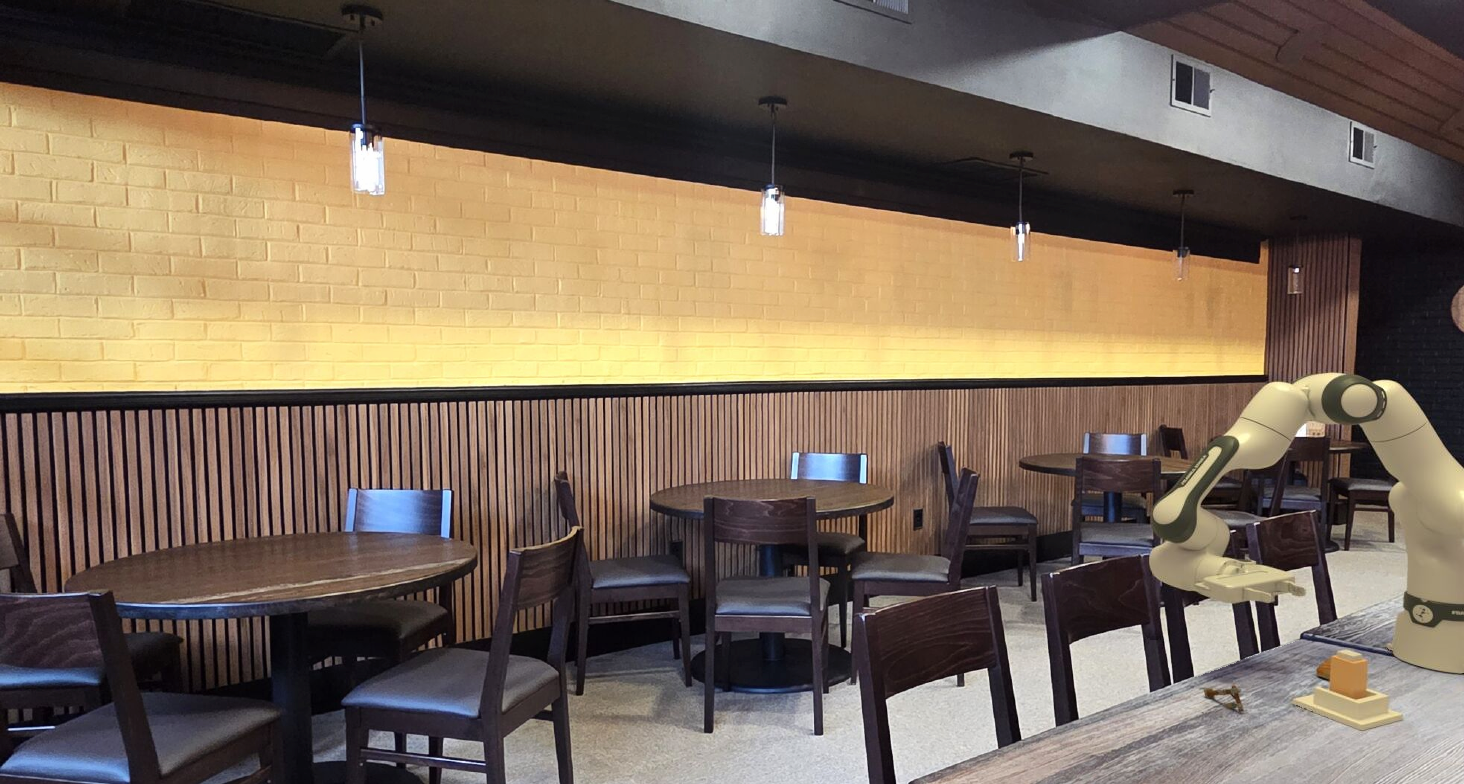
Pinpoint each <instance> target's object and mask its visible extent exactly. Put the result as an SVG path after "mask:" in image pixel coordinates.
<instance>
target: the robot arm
mask: <svg viewBox="0 0 1464 784" xmlns="http://www.w3.org/2000/svg"><path fill="white" fill-rule="evenodd" d="M1239 415H1240V416H1239V417H1238V418H1237V420H1236V422H1235V423H1234V424H1233V425H1232V427H1231V428H1230V429H1229V430H1228V431H1227V432H1225V434H1223V435H1222V436H1221V435H1220V436H1218V437H1216V438H1215V439H1213V440H1212V441H1211V442H1210V443H1208V444H1207V446H1206V447H1205V448H1204V449H1203V450H1202V452H1201V453H1200V454H1199V455H1198V456H1197V457H1196V459H1194V461H1193V463H1191V464H1190V466H1189V467H1188V469H1187V470H1186V471H1185V472H1184V473H1183V475H1182V476H1181V477H1180V478H1179V479H1178V481H1177V482H1176V483H1175V484H1174V485H1173V486H1172V487H1171V489H1169V491H1167V492H1166V493H1165V494H1164V495H1163V496H1161V497H1160V498H1159V499H1158V500H1157V501H1156V502H1155V504H1154V505H1153V506H1152V507H1151V511H1150V517H1149V518H1150V519H1149V521H1150V527H1151V529H1152V531H1153V533H1154V534H1155V535H1156V536H1157V537H1158V538H1159V539H1163V540H1165V541H1164V542H1163V543H1162V544H1159V545H1158V546H1155V547H1154V548H1152V549H1151V550H1150V553H1149V559H1148V564H1149V568H1150V571H1151V572H1152V574H1153V576H1154V577H1155V578H1156V579H1158V580H1159V581H1160V582H1162V583H1165V584H1167V585H1169V586H1170V587H1175V588H1177V589H1180V590H1185V591H1187V592H1191V591H1193V592H1197V593H1198V594H1200V595H1203V596H1205V597H1208V598H1210V599H1212V600H1217V601H1218V602H1222V603H1225V604H1239V603H1242V602H1247V601H1250V602H1251V601H1253V602H1263V603H1267V604H1270V603H1274V602H1275V596H1279V595H1284V594H1291V595H1292V596H1293V597H1294V596H1295V597H1299V598H1301V597H1305V596H1306V595H1307V589H1306V587H1304V586H1301V585H1298V584H1296V578H1295V575H1294V574H1292V573H1290V572H1288V571H1285V570H1282V569H1278V568H1274V567H1272V566H1269V565H1262V564H1257V561H1256V560H1252V559H1247V558H1245V559H1242V558H1239V559H1238V558H1230V557H1226V556H1224V555H1225V552H1226V551H1227V548H1228V546H1229V544H1230V543H1229V542H1230V539H1231V530H1230V527H1229V525H1228V524H1227V523H1226V521H1224V519H1222V518H1220V517H1219V516H1217V515H1215V514H1213V513H1212V512H1211V511H1209V510H1207V509H1204V508H1202V506H1201V504H1202V502H1203V500H1204V499H1205V497H1207V495H1208V494H1210V492H1211V490H1212V489H1213V488H1214V487H1215V485H1216V484H1217V483H1218V482H1219V481H1220V479H1221V478H1222V477H1223V476H1224V475H1225V474H1226V473H1228V472H1231V471H1233V470H1237V469H1239V470H1240V469H1249V470H1260V469H1264V468H1269V467H1272V466H1273V465H1275V464H1276V463H1278V461H1279V460H1281V458H1282V457H1284V455H1285V453H1287V451H1288V449H1289V447H1290V446H1291V444H1292V443H1293V441H1294V439H1295V438H1296V435H1297V434H1298V432H1299V430H1301V428H1302V427H1303V426H1304V425H1305V424H1307V423H1308V422H1315V423H1319V424H1323V425H1324V424H1325V425H1342V426H1355V425H1359V426H1360V428H1361V429H1362V431H1363V432H1364V435H1365V437H1367V440H1368V441H1369V443H1370V444H1371V446H1372V448H1373V449H1374V451H1375V454H1376V455H1377V457H1378V458H1379V460H1380V461H1381V463H1382V465H1383V467H1384V468H1385V470H1386V471H1388V473H1389V474H1390V475H1392V476H1393V477H1394V478H1396V479H1397V480H1398V482H1397V483H1395V484H1393V487H1392V488H1391V490H1390V491H1389V493H1388V504H1389V508H1390V510H1392V512H1393V513H1394V515H1395V516H1396V518H1397V520H1398V521H1399V524H1400V528H1401V532H1402V536H1403V540H1404V543H1405V549H1406V555H1407V577H1406V590H1405V591H1404V593H1403V597H1402V602H1403V603H1402V608H1403V609H1404V610H1403V611H1401V612H1399V613H1397V614H1396V619H1395V625H1394V631H1393V637H1392V642H1387V643H1386V647H1387V648H1388V649H1389V650H1388V649H1387V648H1386V647H1385V648H1386V649H1387V650H1388V651H1390V650H1392V651H1393V652H1392V651H1391V652H1392V654H1393V656H1395V657H1396V658H1397V659H1399V660H1401V661H1403V662H1406V663H1409V664H1411V665H1415V666H1419V667H1422V668H1425V669H1429V670H1434V671H1438V672H1445V673H1452V674H1462V673H1464V543H1463V540H1464V467H1463V466H1462V465H1461V464H1460V463H1459V462H1458V461H1457V460H1456V459H1455V457H1453V456H1452V454H1451V453H1450V451H1448V449H1447V448H1446V447H1445V445H1444V443H1443V441H1442V440H1441V439H1440V437H1439V436H1438V434H1437V432H1436V431H1435V429H1434V427H1433V426H1432V425H1431V422H1430V421H1429V419H1428V418H1427V416H1426V415H1425V413H1424V411H1423V410H1422V409H1421V407H1420V406H1419V404H1418V403H1417V402H1416V400H1415V399H1414V398H1413V396H1411V394H1410V393H1409V392H1408V391H1407V390H1406V389H1405V388H1404V387H1403V386H1402V385H1401V384H1400V383H1398V382H1397V381H1393V380H1390V379H1381V380H1374V381H1371V380H1370V379H1368V378H1365V377H1363V376H1361V375H1358V374H1353V373H1352V374H1351V373H1347V374H1346V373H1343V372H1342V373H1341V372H1325V373H1309V374H1305V375H1302V376H1300V377H1298V378H1296V379H1294V380H1293V381H1291V382H1289V383H1288V382H1285V381H1272V382H1269V383H1267V384H1265V385H1264V386H1263V387H1262V388H1261V389H1260V390H1259V391H1258V392H1257V393H1256V394H1255V395H1254V396H1253V397H1252V398H1251V400H1250V401H1249V403H1248V404H1247V405H1246V407H1244V409H1243V411H1242V413H1240V414H1239ZM1223 556H1224V557H1223Z"/></svg>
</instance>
